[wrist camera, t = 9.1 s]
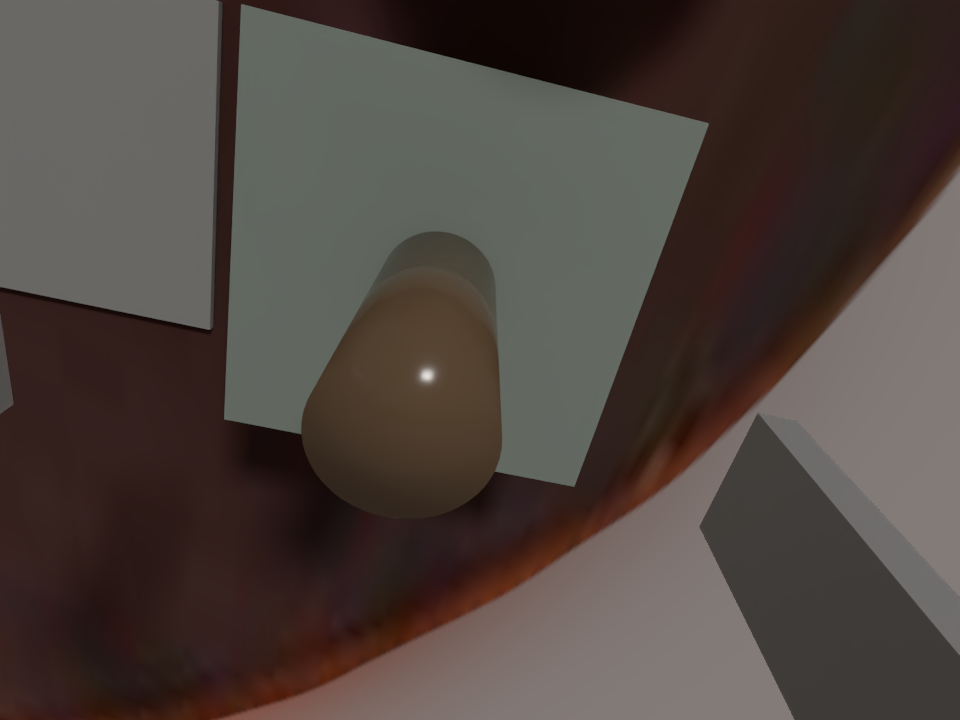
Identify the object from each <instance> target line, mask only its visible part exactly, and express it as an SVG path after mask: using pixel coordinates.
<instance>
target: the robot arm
mask: <svg viewBox="0 0 960 720" xmlns="http://www.w3.org/2000/svg"><path fill="white" fill-rule="evenodd" d="M12 405H13V397H12V391H11V384H10V377H9V370H8V364H7V357H6V350H5V344H4V337H3V330H2V323H1V317H0V414H1V413H2V412H3V411H5V410H6V409H8V408H9V407H10V406H12ZM700 529H701V531H702V533H703V535H704V537H705V539H706V541H707V543H708V545H709V547H710V549H711V551H712V553H713V555H714V557H715V559H716V561H717V563H718V565H719V567H720V569H721V571H722V573H723V575H724V577H725V579H726V581H727V584H728V586H729V588H730V590H731V592H732V594H733V596H734V598H735V600H736V602H737V604H738V606H739V608H740V610H741V612H742V614H743V616H744V618H745V620H746V622H747V624H748V626H749V628H750V630H751V632H752V634H753V636H754V638H755V640H756V642H757V644H758V646H759V648H760V650H761V652H762V654H763V656H764V658H765V660H766V663H767V665H768V667H769V669H770V671H771V672H772V675H773V677H774V679H775V681H776V683H777V685H778V687H779V689H780V691H781V693H782V695H783V697H784V699H785V701H786V703H787V705H788V707H789V709H790V711H791V713H792V715H793V717H794V719H795V720H960V597H959V596H958V595H957V594H956V593H955V592H954V590H952V588H951V587H950V586H949V585H948V584H947V583H946V582H945V581H944V580H943V579H942V578H941V577H940V575H939V574H938V573H937V572H936V571H935V570H934V569H933V568H932V567H931V566H930V565H929V563H928V562H927V561H926V560H925V559H924V558H923V557H922V556H921V555H920V554H919V553H918V552H917V550H915V548H914V547H913V546H912V545H911V544H910V543H909V542H908V541H907V540H906V539H905V537H904V536H903V535H902V534H900V532H899V531H898V530H897V529H896V528H895V527H894V526H893V525H892V523H891V522H890V521H889V520H888V519H887V518H886V517H885V516H884V515H883V514H882V513H881V512H880V510H879V509H878V508H877V507H876V506H875V505H874V504H873V503H872V502H871V501H870V500H869V499H868V497H867V496H865V494H864V493H863V492H862V491H861V490H860V489H859V488H858V487H857V486H856V485H855V483H854V482H853V481H852V480H851V479H850V478H849V477H848V476H847V475H846V474H845V473H844V472H843V471H842V469H841V468H840V467H839V466H838V465H837V464H836V463H835V462H834V461H833V460H832V459H831V457H830V456H829V455H828V454H827V453H826V452H825V451H824V450H823V449H822V448H821V447H820V446H819V444H817V442H816V441H815V440H814V439H813V438H812V437H811V436H810V435H809V434H808V433H807V432H806V430H805V429H804V428H803V427H802V426H801V425H800V424H799V423H798V422H797V421H795V420H790V419H785V418H780V417H775V416H771V415H765V414H760V413H758V414H757V416H756V418H755V420H754V422H753V424H752V426H751V427H750V429H749V431H748V433H747V436H746V437H745V439H744V441H743V443H742V445H741V447H740V449H739V451H738V453H737V455H736V457H735V459H734V461H733V463H732V465H731V466H730V468H729V470H728V472H727V474H726V476H725V478H724V480H723V482H722V484H721V486H720V488H719V490H718V492H717V494H716V496H715V497H714V499H713V501H712V504H711V505H710V507H709V509H708V511H707V513H706V515H705V517H704V519H703V521H702V523H701V525H700Z"/></svg>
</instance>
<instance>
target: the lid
mask: <svg viewBox="0 0 960 720" xmlns="http://www.w3.org/2000/svg"><path fill="white" fill-rule="evenodd" d="M708 125H709V123H705V122H701V121H697V120H693V119H689V118H685V117H681V116H677V115H674V114H670V113H666V112H662V111H658V110H654V109H650V108H646V107H642V106H638V105H634V104H630V103H627V102H623V101H619V100H615V99H611V98H607V97H603V96H599V95H595V94H591V93H587V92H583V91H580V90H576V89H572V88H568V87H564V86H560V85H556V84H552V83H548V82H544V81H540V80H536V79H533V78H529V77H525V76H521V75H517V74H513V73H509V72H505V71H501V70H497V69H493V68H489V67H486V66H482V65H478V64H474V63H470V62H466V61H462V60H458V59H454V58H450V57H446V56H442V55H439V54H435V53H431V52H427V51H423V50H419V49H415V48H411V47H407V46H403V45H399V44H395V43H392V42H388V41H384V40H380V39H376V38H372V37H368V36H364V35H360V34H356V33H352V32H348V31H345V30H341V29H337V28H333V27H329V26H325V25H321V24H317V23H313V22H309V21H305V20H301V19H298V18H294V17H290V16H286V15H282V14H278V13H274V12H270V11H266V10H262V9H258V8H254V7H251V6H247V5H243V4H241V22H240V47H239V71H238V95H237V120H236V144H235V168H234V192H233V217H232V241H231V265H230V290H229V314H228V338H227V363H226V387H225V411H224V419H226V420H231V421H236V422H241V423H247V424H252V425H257V426H262V427H267V428H272V429H278V430H283V431H288V432H293V433H298V434H301V435H302V443H303V447H304V450H305V454H306V456H307V458H308V461H309V463H310V465H311V467H312V468H313V470H314V471H315V473H316V475H317V476H318V477H319V478H320V480H321V481H322V482H323V483H324V484H325V485H326V486H327V487H328V488H329V489H330V490H331V491H332V492H333V493H335V494H336V495H337V496H338V497H340V498H341V499H343V500H344V501H346V502H348V503H349V504H351V505H353V506H355V507H357V508H359V509H361V510H363V511H366V512H369V513H372V514H375V515H379V516H384V517H389V518H397V519H419V518H427V517H432V516H437V515H440V514H443V513H447V512H449V511H451V510H454V509H456V508H458V507H460V506H461V505H463V504H465V503H467V502H468V501H469V500H471V499H472V498H473V497H475V496H476V495H477V494H478V493H479V492H480V491H481V490H482V489H483V488H484V487H485V485H486V484H487V483H488V482H489V480H490V479H491V477H492V475H493V473H494V472H501V473H506V474H511V475H516V476H521V477H527V478H532V479H537V480H542V481H547V482H553V483H558V484H563V485H568V486H573V487H574V486H575V483H576V481H577V478H578V475H579V473H580V470H581V467H582V464H583V462H584V459H585V456H586V454H587V451H588V448H589V446H590V443H591V440H592V437H593V435H594V432H595V429H596V427H597V424H598V421H599V419H600V416H601V413H602V410H603V408H604V405H605V402H606V400H607V397H608V394H609V392H610V389H611V386H612V384H613V381H614V378H615V375H616V373H617V370H618V367H619V365H620V362H621V359H622V357H623V354H624V351H625V348H626V346H627V343H628V340H629V338H630V335H631V332H632V330H633V327H634V324H635V322H636V319H637V316H638V313H639V311H640V308H641V305H642V303H643V300H644V297H645V295H646V292H647V289H648V286H649V284H650V281H651V278H652V276H653V273H654V270H655V268H656V265H657V262H658V259H659V257H660V254H661V251H662V249H663V246H664V243H665V241H666V238H667V235H668V233H669V230H670V227H671V224H672V222H673V219H674V216H675V214H676V211H677V208H678V206H679V203H680V200H681V197H682V195H683V192H684V189H685V187H686V184H687V181H688V179H689V176H690V173H691V170H692V168H693V165H694V162H695V160H696V157H697V154H698V152H699V149H700V146H701V144H702V141H703V138H704V135H705V133H706V130H707V127H708Z"/></svg>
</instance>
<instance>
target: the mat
mask: <svg viewBox="0 0 960 720" xmlns="http://www.w3.org/2000/svg"><path fill="white" fill-rule="evenodd" d="M221 37H222V2H220V1H216V0H0V287H4V288H8V289H13V290H18V291H23V292H28V293H33V294H38V295H42V296H47V297H52V298H57V299H62V300H67V301H72V302H76V303H81V304H86V305H91V306H96V307H101V308H106V309H111V310H115V311H120V312H125V313H130V314H135V315H140V316H145V317H149V318H154V319H159V320H164V321H169V322H174V323H179V324H183V325H188V326H193V327H198V328H203V329H208V330H210V329H212V328H213V311H214V277H215V242H216V208H217V174H218V140H219V105H220V71H221Z"/></svg>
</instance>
